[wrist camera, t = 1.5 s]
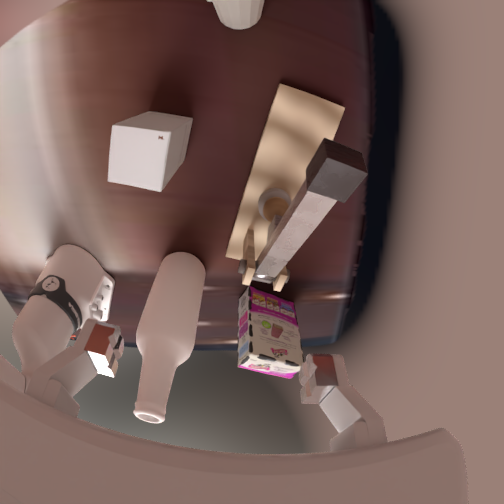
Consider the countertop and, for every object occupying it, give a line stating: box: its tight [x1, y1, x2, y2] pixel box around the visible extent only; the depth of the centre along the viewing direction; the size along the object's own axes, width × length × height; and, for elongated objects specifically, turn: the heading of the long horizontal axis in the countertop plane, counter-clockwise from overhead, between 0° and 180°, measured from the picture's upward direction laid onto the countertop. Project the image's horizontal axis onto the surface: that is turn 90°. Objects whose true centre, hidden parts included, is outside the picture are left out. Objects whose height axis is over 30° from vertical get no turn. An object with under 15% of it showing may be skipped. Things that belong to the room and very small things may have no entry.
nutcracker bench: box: [226, 84, 345, 292], centre depth 37 cm, size 30×10×12 cm, turn 164°
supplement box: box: [108, 111, 193, 192], centre depth 32 cm, size 7×7×13 cm
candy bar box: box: [238, 286, 304, 378], centre depth 50 cm, size 11×5×16 cm, turn 61°
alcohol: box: [133, 252, 206, 423], centre depth 39 cm, size 9×9×30 cm
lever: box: [252, 138, 368, 283], centre depth 31 cm, size 24×4×5 cm, turn 166°
